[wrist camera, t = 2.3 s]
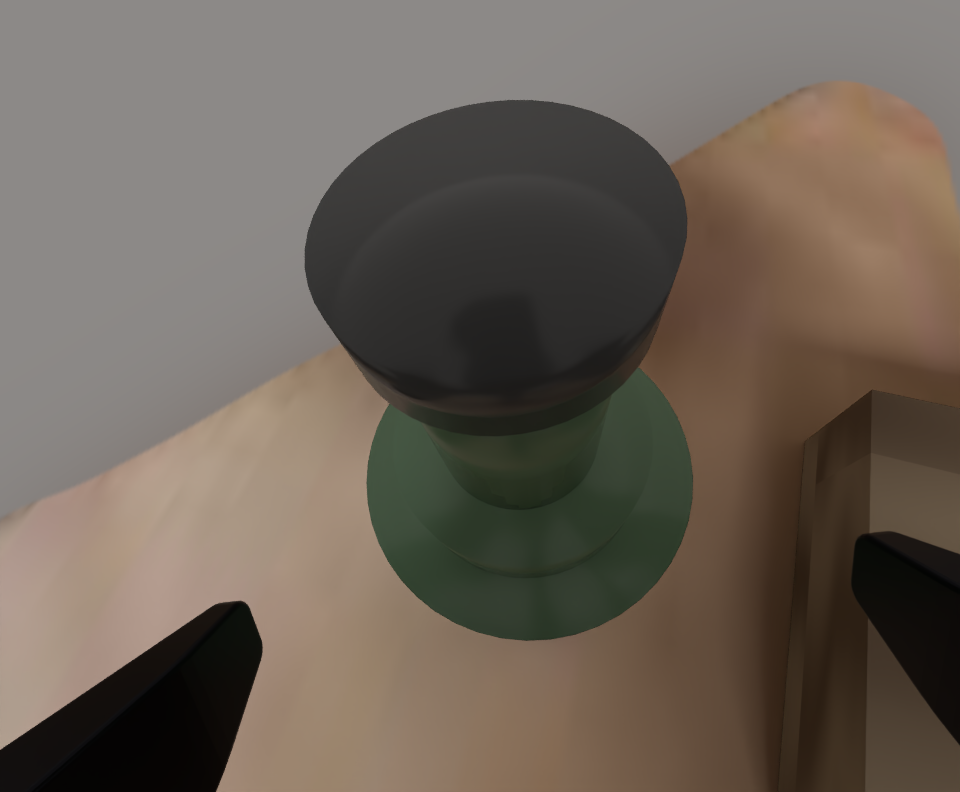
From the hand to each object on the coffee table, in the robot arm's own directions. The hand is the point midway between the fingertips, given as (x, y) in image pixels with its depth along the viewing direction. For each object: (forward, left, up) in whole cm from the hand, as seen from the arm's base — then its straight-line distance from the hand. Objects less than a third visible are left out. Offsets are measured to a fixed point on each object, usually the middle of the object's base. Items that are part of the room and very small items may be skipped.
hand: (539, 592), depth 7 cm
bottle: (+2, +1, -10) cm, 10 cm away
